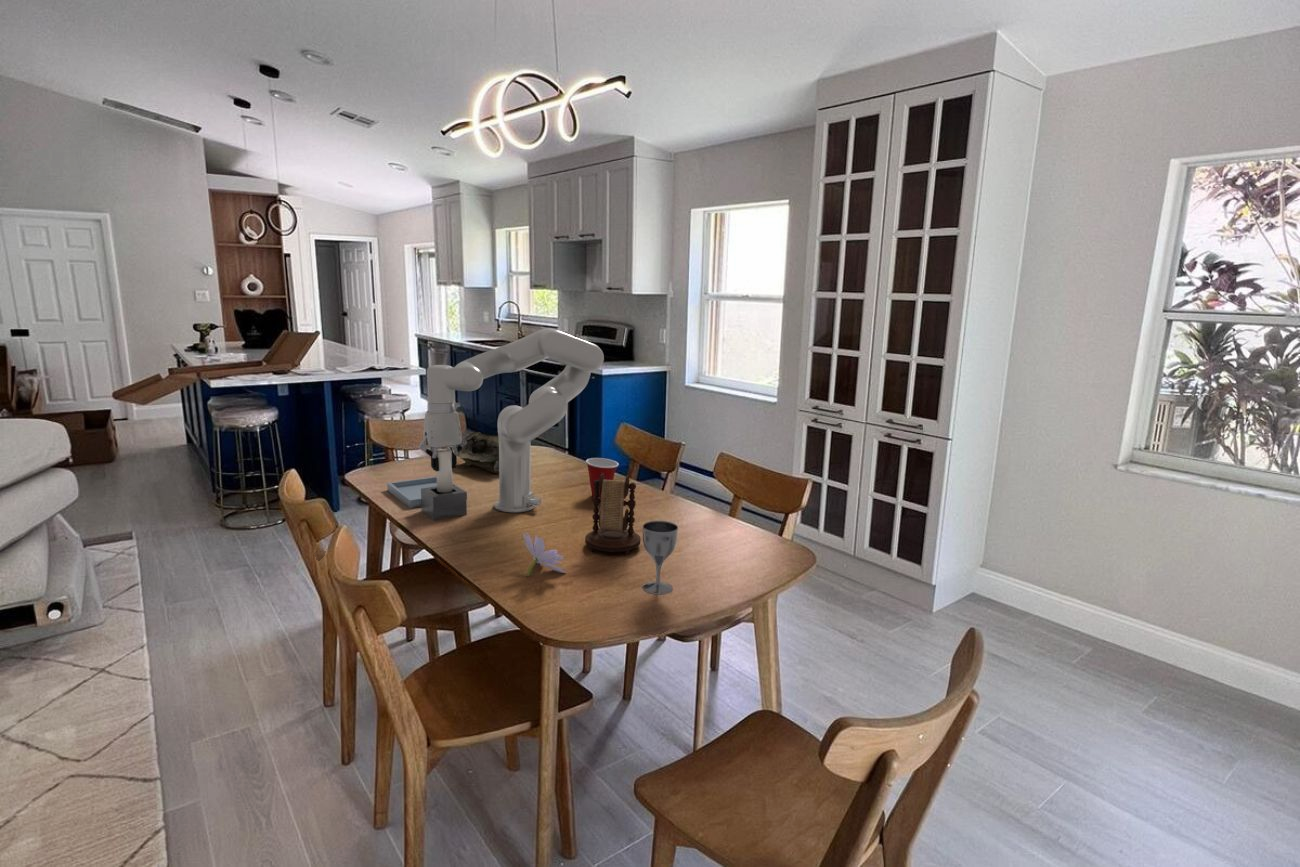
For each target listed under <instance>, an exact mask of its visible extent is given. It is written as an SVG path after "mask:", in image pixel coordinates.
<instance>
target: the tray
mask: <svg viewBox="0 0 1300 867" xmlns="http://www.w3.org/2000/svg"><path fill="white" fill-rule="evenodd" d="M386 484H387V485H386V486H387V488H386V489H387V491H388V492H389V493H391V494H392V496H394V497H395V498H396V499H398V500H399V501H400V502H401V503H403V504H404V505H406V506H407V507H408V508H409V509H416V508H421V488H428V487H435V486H437V476H430V477H423V478H422V477H421V478H414V479H408V480H399V481H392V482H391V481H389V482H387V483H386ZM453 484H454V485H456V486H457V487H459V488H461V487H460V486H459V485H457V484H455V483H453ZM461 489H462V490H464V491H465V492H466V500H467V499H468V492H467V491H466V490H465V489H463V488H461Z"/></svg>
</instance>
